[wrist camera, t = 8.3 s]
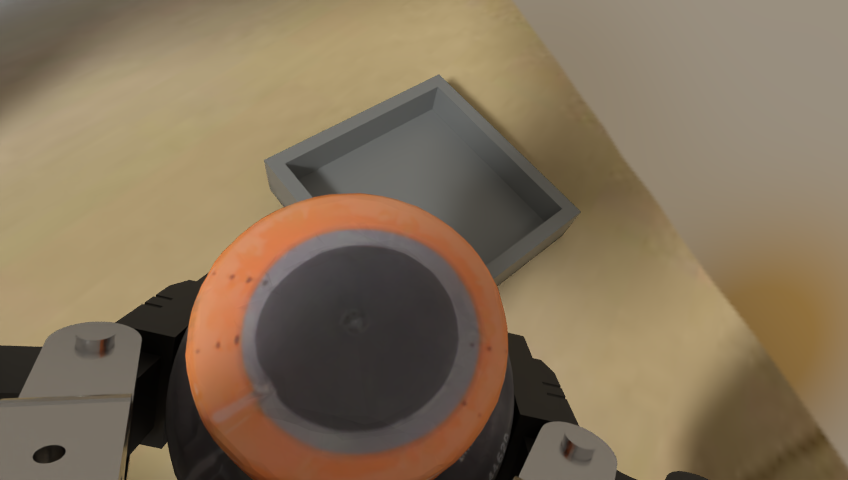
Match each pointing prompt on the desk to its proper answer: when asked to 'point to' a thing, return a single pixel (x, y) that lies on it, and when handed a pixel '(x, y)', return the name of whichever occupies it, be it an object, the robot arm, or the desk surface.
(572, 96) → the desk surface
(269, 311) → the pill bottle
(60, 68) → the desk surface
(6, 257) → the desk surface
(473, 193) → the tray
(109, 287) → the desk surface
